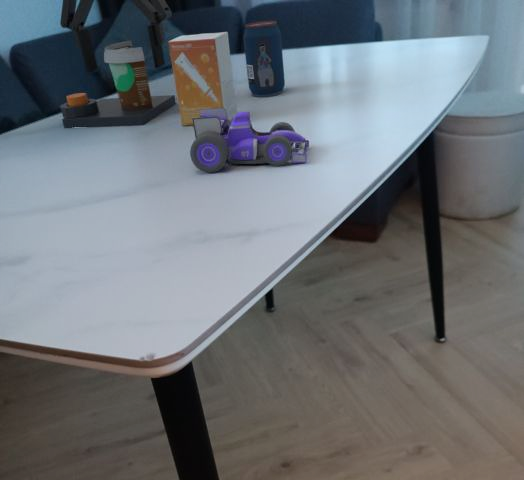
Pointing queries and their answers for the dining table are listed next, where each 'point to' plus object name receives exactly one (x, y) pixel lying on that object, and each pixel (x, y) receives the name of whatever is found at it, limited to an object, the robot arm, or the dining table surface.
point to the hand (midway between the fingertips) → (125, 68)
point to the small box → (202, 74)
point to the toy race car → (241, 142)
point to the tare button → (77, 99)
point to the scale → (112, 113)
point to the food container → (129, 75)
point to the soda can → (264, 58)
